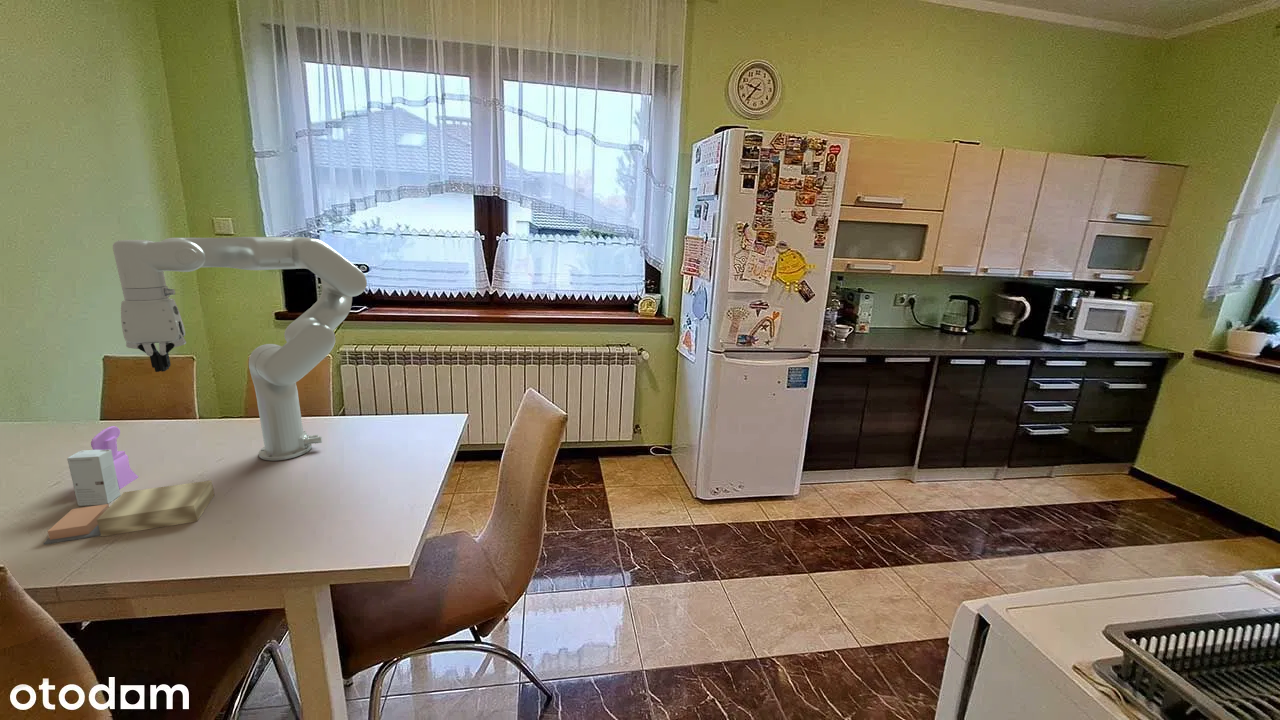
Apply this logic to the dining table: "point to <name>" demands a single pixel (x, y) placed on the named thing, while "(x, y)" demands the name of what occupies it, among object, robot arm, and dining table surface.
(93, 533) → the mat
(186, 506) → the board
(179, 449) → the dining table surface
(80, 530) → the tile
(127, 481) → the purple flanged fixture
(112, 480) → the skincare box
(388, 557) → the dining table surface
